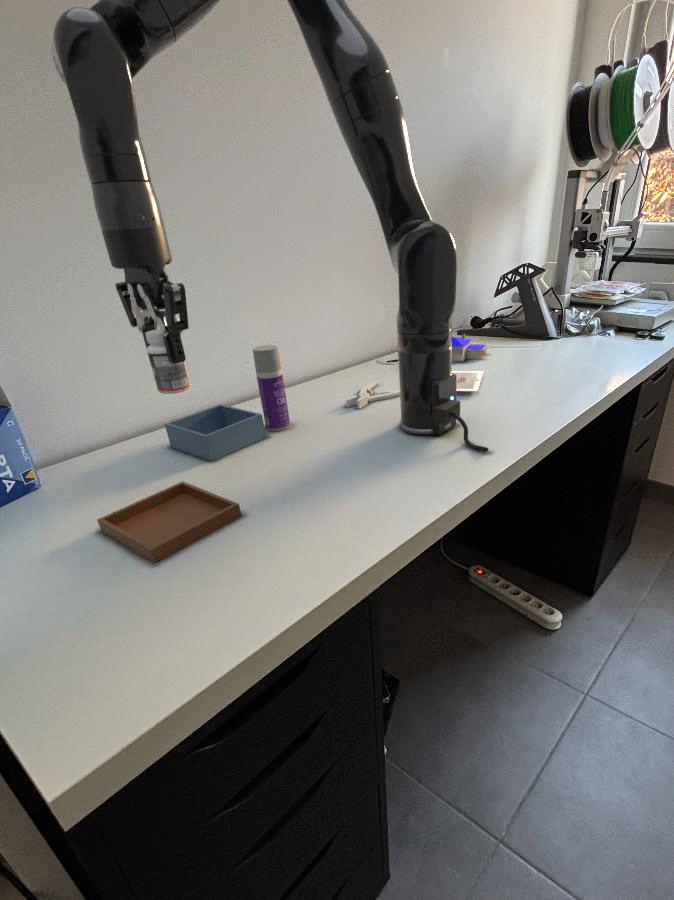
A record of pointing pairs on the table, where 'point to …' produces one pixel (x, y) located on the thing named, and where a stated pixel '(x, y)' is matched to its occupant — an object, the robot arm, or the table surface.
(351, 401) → the pliers
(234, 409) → the storage box
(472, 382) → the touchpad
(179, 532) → the tray
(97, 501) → the table surface
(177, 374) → the pill bottle
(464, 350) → the house
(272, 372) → the container
